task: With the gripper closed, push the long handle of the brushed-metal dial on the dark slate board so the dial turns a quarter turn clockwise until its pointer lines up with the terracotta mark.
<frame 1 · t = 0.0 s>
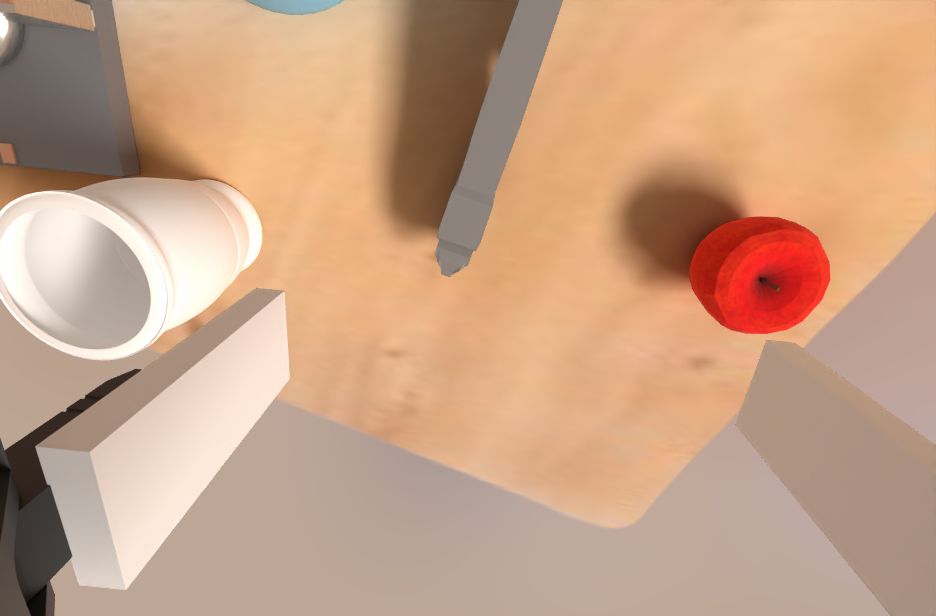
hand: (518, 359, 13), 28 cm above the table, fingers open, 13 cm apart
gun: (507, 92, 36), on the table
apple: (722, 255, 40), on the table
jar: (217, 227, 41), on the table
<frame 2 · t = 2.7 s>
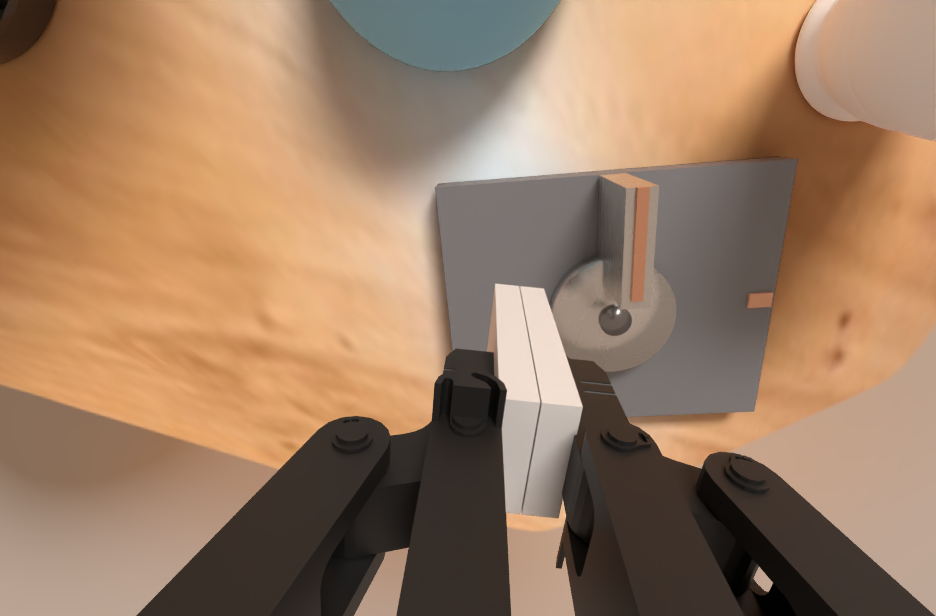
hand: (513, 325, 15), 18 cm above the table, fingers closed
board: (601, 298, 34), on the table
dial: (621, 290, 28), point 5 cm above the table, hinge at 90.0°
jar: (863, 44, 28), on the table
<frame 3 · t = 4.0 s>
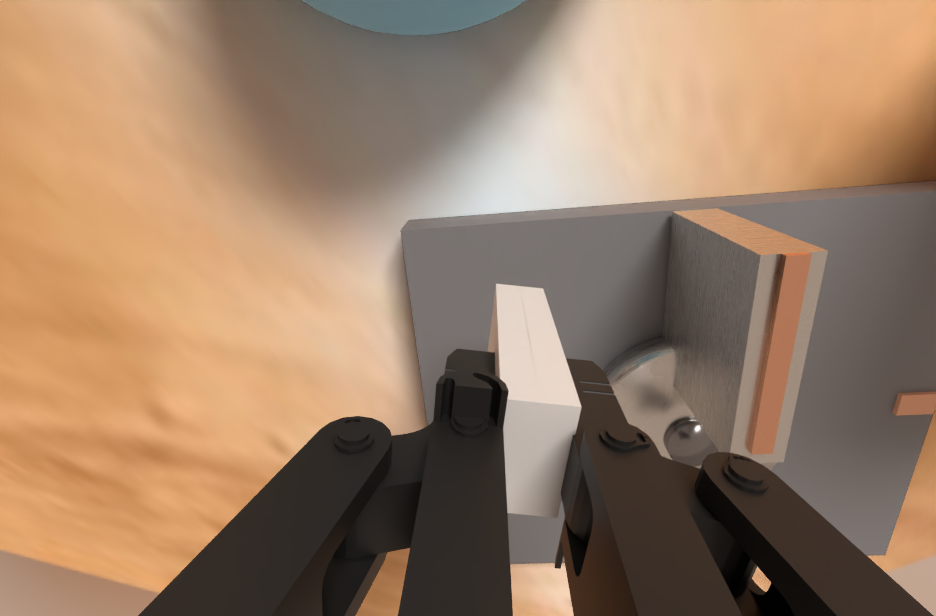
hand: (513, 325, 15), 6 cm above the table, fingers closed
board: (657, 388, 22), on the table
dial: (712, 407, 17), point 5 cm above the table, hinge at 90.0°
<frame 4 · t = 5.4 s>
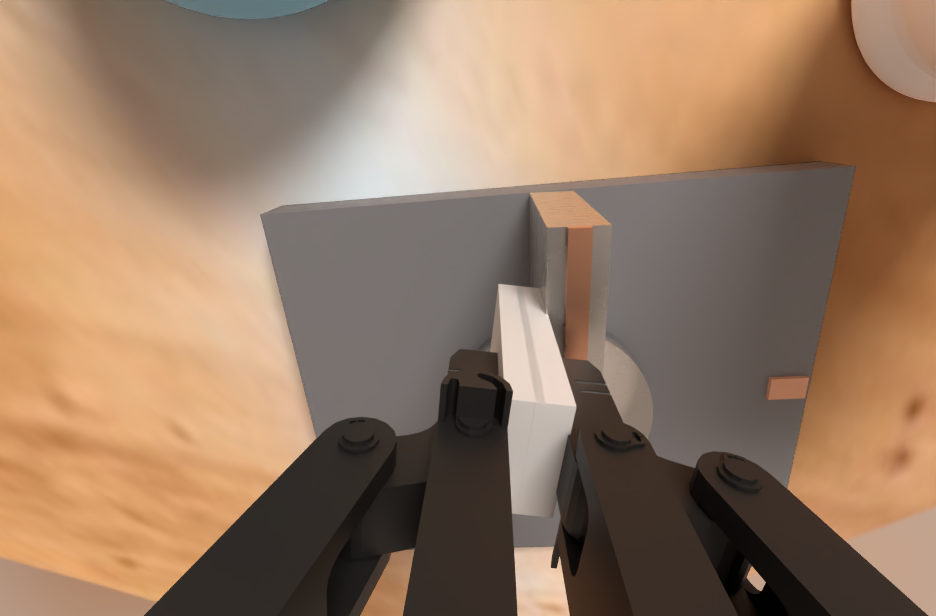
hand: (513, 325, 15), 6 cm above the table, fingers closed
board: (544, 374, 23), on the table
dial: (559, 388, 17), point 5 cm above the table, hinge at 88.1°, touching gripper
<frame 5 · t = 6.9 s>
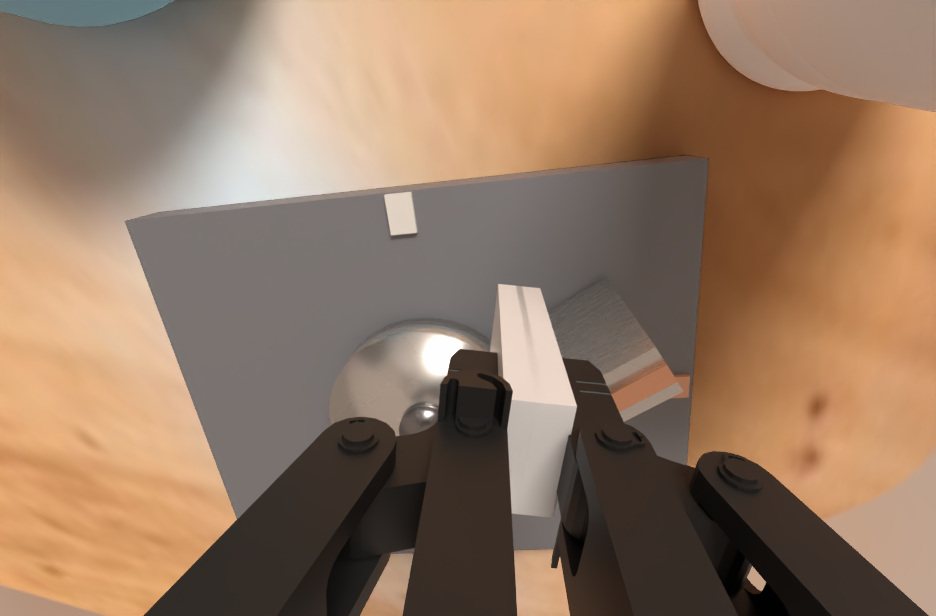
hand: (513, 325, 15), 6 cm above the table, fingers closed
board: (437, 377, 22), on the table
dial: (474, 418, 17), point 5 cm above the table, hinge at 29.0°, touching gripper
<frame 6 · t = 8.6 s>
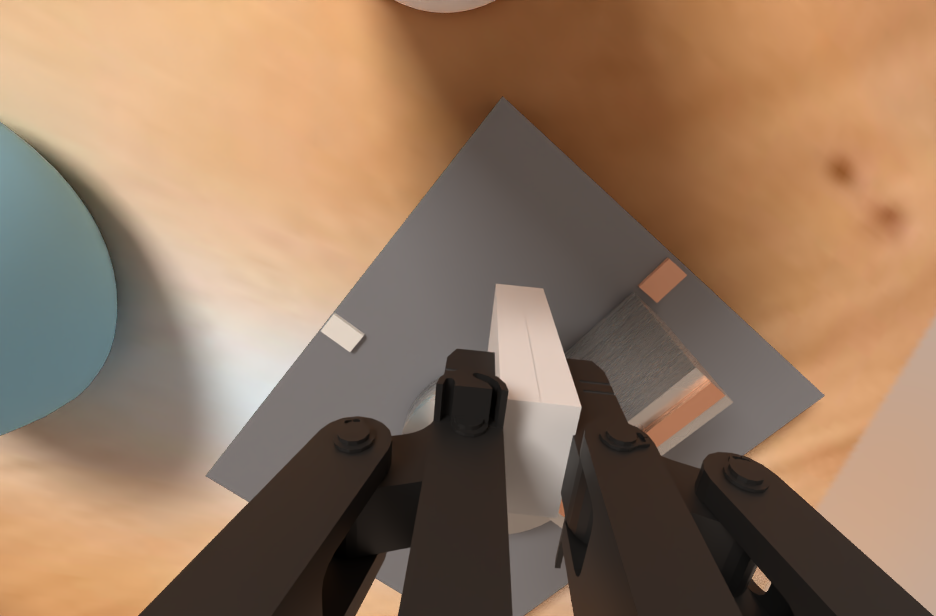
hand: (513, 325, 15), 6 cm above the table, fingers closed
board: (491, 413, 23), on the table
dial: (536, 454, 17), point 5 cm above the table, hinge at -1.6°
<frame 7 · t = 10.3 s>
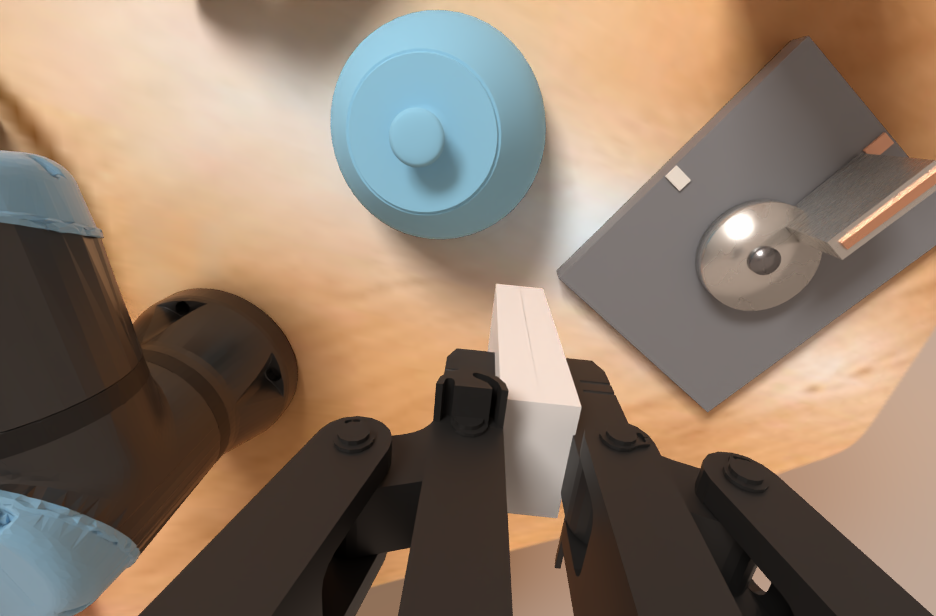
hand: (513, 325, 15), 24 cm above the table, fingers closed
sugar bowl: (444, 133, 36), on the table
board: (738, 246, 37), on the table
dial: (806, 239, 31), point 5 cm above the table, hinge at -1.6°
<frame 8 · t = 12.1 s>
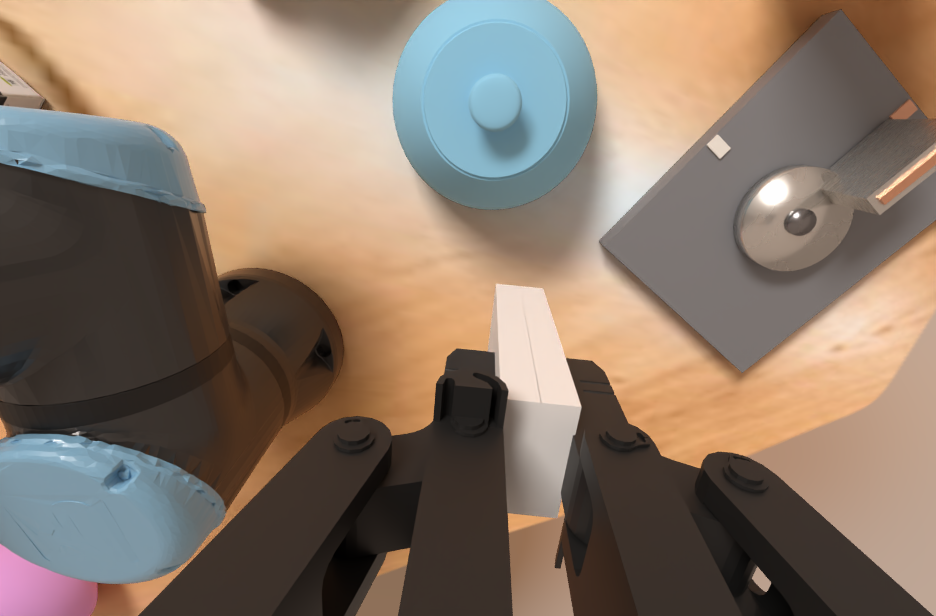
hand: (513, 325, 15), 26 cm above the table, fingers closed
sugar bowl: (493, 108, 37), on the table
board: (770, 212, 39), on the table
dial: (842, 200, 33), point 5 cm above the table, hinge at -1.6°
teapot: (66, 565, 59), on the table
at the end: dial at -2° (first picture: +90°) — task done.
